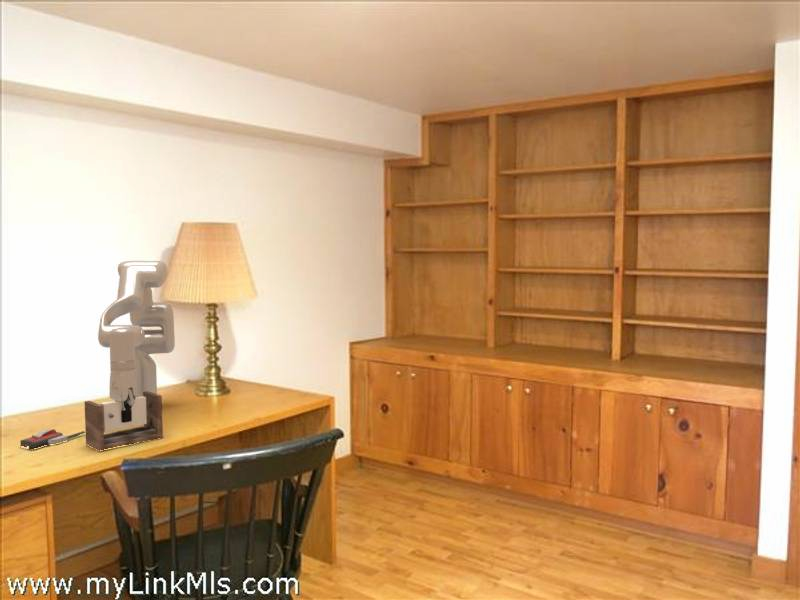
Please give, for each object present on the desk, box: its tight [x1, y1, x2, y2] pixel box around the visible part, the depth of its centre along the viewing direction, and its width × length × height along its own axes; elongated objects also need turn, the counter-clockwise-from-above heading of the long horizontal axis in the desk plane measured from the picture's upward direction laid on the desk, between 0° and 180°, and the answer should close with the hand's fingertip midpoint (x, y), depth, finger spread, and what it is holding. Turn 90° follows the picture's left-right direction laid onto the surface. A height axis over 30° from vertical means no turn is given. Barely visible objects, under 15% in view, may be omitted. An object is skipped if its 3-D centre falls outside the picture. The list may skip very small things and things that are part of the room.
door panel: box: [100, 396, 147, 433], centre depth 219 cm, size 14×4×9 cm, turn 137°
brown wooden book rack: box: [84, 391, 164, 451], centre depth 219 cm, size 21×10×14 cm, turn 137°
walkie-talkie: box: [20, 428, 86, 450], centre depth 219 cm, size 9×4×20 cm
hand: (124, 420), depth 219 cm, fingers closed on door panel, 2 cm apart
